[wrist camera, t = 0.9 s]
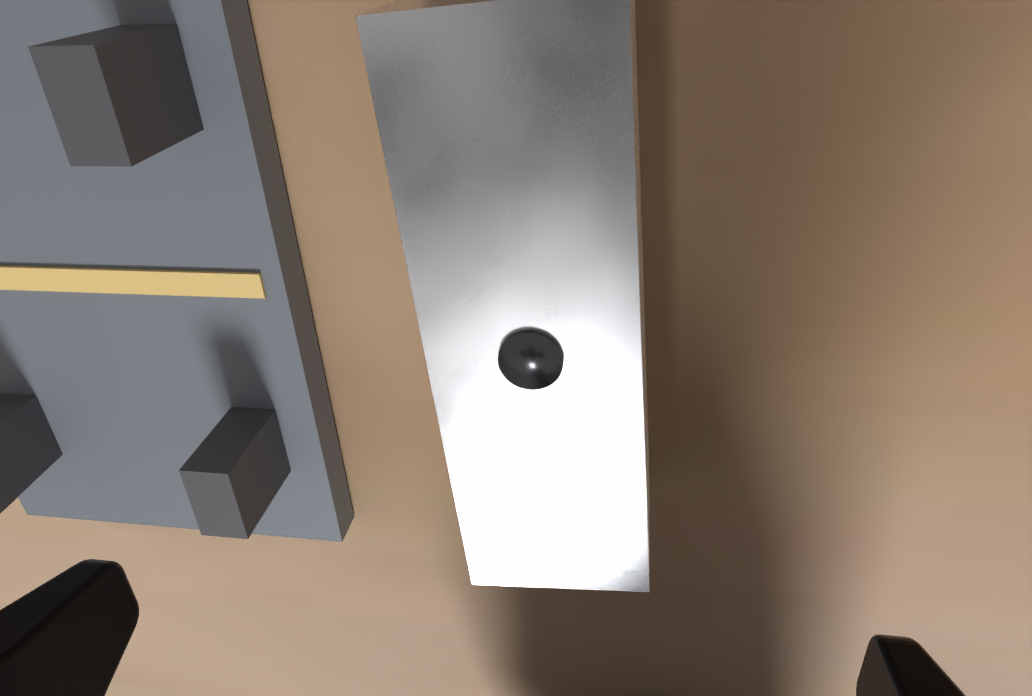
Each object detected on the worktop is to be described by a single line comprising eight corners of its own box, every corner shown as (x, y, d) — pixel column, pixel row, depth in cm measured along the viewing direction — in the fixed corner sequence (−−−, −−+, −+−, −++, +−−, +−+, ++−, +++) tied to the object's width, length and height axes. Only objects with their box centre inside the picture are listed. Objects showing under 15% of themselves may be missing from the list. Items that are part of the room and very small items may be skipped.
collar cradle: (354, 516, 22) (307, 614, 19) (49, 492, 23) (-38, 578, 20) (218, -134, 14) (97, -145, 11) (-237, -106, 15) (-454, -107, 12)
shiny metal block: (649, 472, 20) (649, 595, 16) (501, 471, 20) (470, 588, 17) (634, -36, 14) (628, -14, 10) (425, -11, 14) (353, 16, 11)
